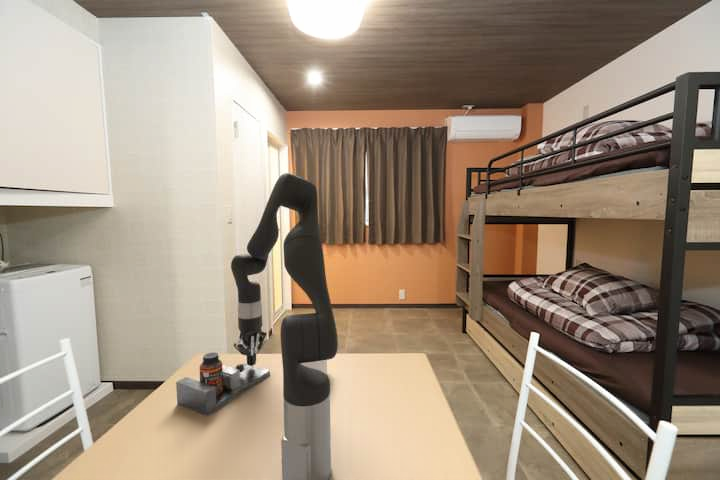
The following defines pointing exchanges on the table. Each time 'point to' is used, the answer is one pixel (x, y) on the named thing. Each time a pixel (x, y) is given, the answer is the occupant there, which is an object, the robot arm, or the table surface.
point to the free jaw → (232, 376)
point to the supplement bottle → (212, 371)
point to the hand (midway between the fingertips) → (251, 364)
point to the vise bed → (204, 394)
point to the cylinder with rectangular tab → (317, 365)
